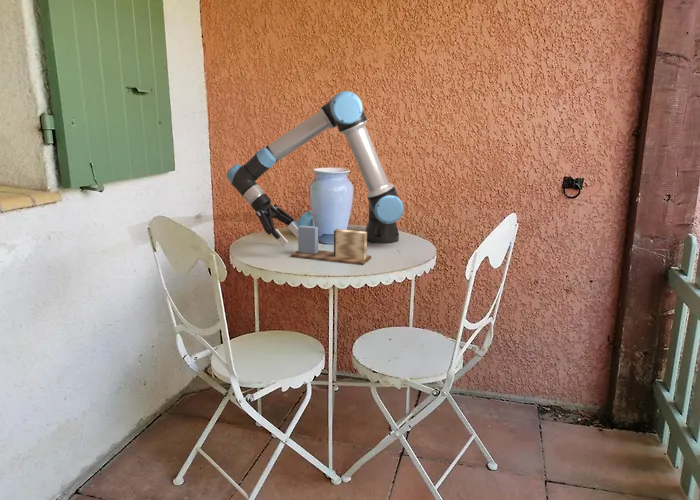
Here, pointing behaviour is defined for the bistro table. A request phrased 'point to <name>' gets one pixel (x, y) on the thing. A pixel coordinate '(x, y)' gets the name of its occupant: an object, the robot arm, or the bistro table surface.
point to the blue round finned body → (305, 220)
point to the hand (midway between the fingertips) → (293, 240)
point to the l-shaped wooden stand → (343, 249)
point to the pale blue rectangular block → (308, 239)
